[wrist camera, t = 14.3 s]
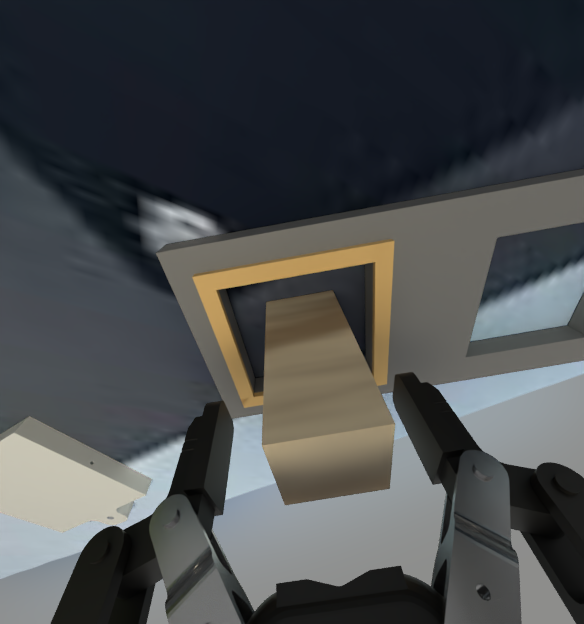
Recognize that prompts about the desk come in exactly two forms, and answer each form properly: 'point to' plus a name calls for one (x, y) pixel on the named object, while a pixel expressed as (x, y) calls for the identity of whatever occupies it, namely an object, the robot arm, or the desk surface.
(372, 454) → the plug
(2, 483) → the mounting plate
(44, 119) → the desk surface
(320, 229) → the dock
